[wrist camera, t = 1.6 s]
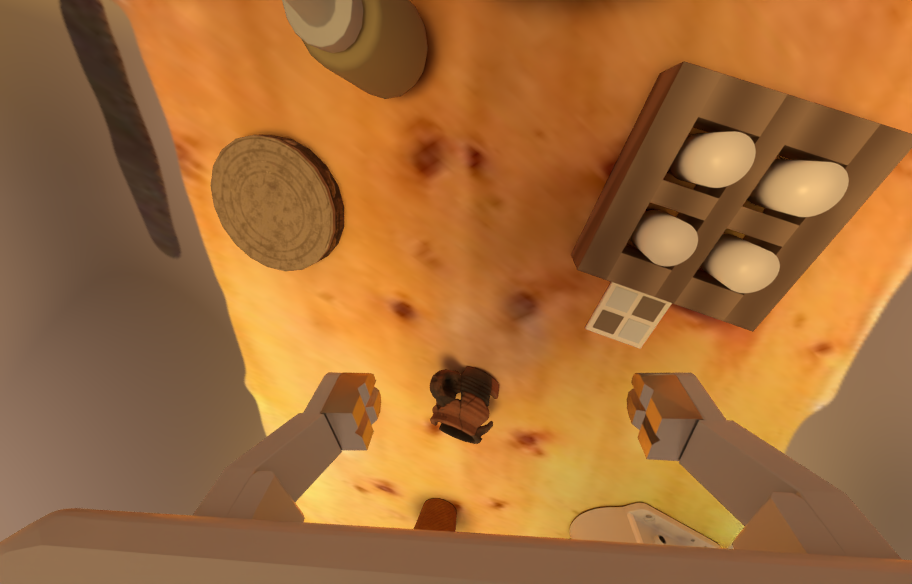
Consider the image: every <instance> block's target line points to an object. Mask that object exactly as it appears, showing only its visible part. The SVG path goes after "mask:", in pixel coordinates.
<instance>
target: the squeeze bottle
mask: <svg viewBox="0 0 912 584" xmlns="http://www.w3.org/2000/svg"><path fill="white" fill-rule="evenodd" d="M282 1H283V5H284V9H285V13H286V16H287V19H288V21H289V23H290V24H291V26H292V28H293V30H294V31H295V33H296V34H297V35H298V36H299V37H300V38H301V39H302V41H303V42H304V44H305V46H306V47H307V49H308V51H309V52H310V54H311V56H313V57H314V58H315V59H316V60H317V61H318V62H320V63H321V64H322V65H323V66H324V67H326V68H327V69H329V70H330V71H332V72H334V73H335V74H337V75H339V76H340V77H342V78H344V79H345V80H347V81H349V82H350V83H352V84H354V85H355V86H357V87H358V88H360V89H362V90H363V91H365V92H367V93H368V94H371V95H374V96H377V97H381V98H384V99H387V98H393V97H398V96H401V95H403V94H404V93H405V92H407V91H408V90H409V89H411V88H412V87H413V86H415V84H416V83H417V81H418V79H419V78H420V76H421V74H422V73H423V71H424V66H425V61H426V55H427V50H428V46H427V38H426V31H425V26H424V23H423V21H422V19H421V17H420V15H419V13H418V11H417V9H416V7H415V6H414V5H413V4H412V3H411V2H410V1H408V0H282Z"/></svg>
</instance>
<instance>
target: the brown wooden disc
mask: <svg viewBox="0 0 912 584" xmlns="http://www.w3.org/2000/svg"><path fill="white" fill-rule="evenodd" d="M211 191H212V197H213V203H214V207H215V210H216V212H217V214H218V217H219V219H220V221H221V224H222V226H223V228H224V229H225V230H226V232H227V233H228V235H229V236H230V237H231V239H232V240H233V241H234V243H235V244H236V245H237V246H238V247H239V248H240V249H242V250H243V251H244V252H245V253H246V254H247V255H248V256H249V257H250V258H252V259H254V260H256V261H258V262H259V263H261V264H263V265H265V266H267V267H270V268H274V269H278V270H282V271H294V270H303V269H305V268H306V267H308V266H310V265H312V264H314V263H316V262H318V261H320V260H322V259H323V258H325V257H327V256H328V255H329V254H330V253H331V252H332V250H333V249H334V248H335V247H336V246H337V245H338V243H339V240H340V237H341V234H342V231H343V229H344V205H343V201H342V198H341V194H340V190H339V187H338V185H337V183H336V181H335V180H334V178H333V176H332V174H331V173H330V171H329V169H328V168H327V166H326V165H325V164H324V163H323V162H322V161H321V160H320V159H319V158H318V157H317V156H316V155H315V154H314V153H313V152H312V151H311V150H310V149H308V148H306V147H305V146H303V145H301V144H299V143H297V142H296V141H294V140H292V139H288V138H283V137H278V136H273V135H251V136H247V137H242V138H237V139H235V140H234V141H232V142H231V143H230V144H229V145H227V146H226V147H225V148H223V149H222V150H221V152H220V154H219V156H218V158H217V160H216V162H215V163H214V165H213V171H212V179H211Z"/></svg>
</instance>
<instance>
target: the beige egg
mask: <svg viewBox="0 0 912 584" xmlns="http://www.w3.org/2000/svg"><path fill="white" fill-rule="evenodd" d="M755 154H756V150H755V145H754V143H753V141H752V139H751V138H750V137H749V136H747V135H746V134H744V133H741V132H735V131H733V132H714V133H697V134H693V135H690V136H688V137H687V138H686V139H685V141H684V143H683V145H682V146H681V148H680V150H679V152H678V154H677V155H676V157H675V159H674V161H673V162H672V164H671V166H670V171H671V173H672V174H673V175H674V176H675V177H676V178H677V179H679V180H682V181H686V182H691V183H695V184H699V185H703V186H707V187H712V188H721V187H726V186H729V185H731V184H733V183H735V182H737V181H738V180H740V179H741V178H742V177H743V176H744V175H745V174H746V173H747V172H748V171H749V170H750V168H751V166H752V164H753V162H754V159H755Z"/></svg>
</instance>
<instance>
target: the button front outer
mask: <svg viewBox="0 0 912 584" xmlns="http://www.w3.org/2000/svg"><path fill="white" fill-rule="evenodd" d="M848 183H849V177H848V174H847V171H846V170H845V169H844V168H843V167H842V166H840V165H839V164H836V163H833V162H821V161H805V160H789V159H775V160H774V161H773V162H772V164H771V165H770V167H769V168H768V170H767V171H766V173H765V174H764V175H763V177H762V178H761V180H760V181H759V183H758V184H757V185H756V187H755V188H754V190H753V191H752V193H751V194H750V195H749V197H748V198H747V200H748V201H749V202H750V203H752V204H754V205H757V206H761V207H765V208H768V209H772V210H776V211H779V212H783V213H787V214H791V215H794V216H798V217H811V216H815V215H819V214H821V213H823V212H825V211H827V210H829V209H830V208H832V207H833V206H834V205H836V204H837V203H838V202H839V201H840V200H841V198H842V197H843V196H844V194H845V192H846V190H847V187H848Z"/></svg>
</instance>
